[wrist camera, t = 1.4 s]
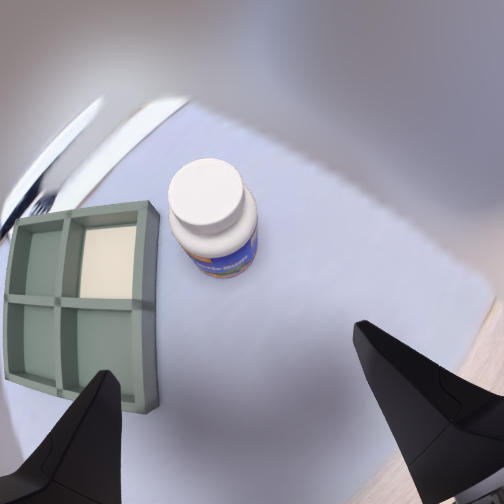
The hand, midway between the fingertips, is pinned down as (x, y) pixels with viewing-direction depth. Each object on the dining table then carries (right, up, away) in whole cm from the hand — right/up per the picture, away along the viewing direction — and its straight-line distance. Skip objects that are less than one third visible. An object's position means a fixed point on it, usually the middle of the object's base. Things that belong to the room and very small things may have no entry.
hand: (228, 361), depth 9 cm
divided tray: (-15, -1, +13) cm, 20 cm away
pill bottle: (-1, +4, +15) cm, 15 cm away
